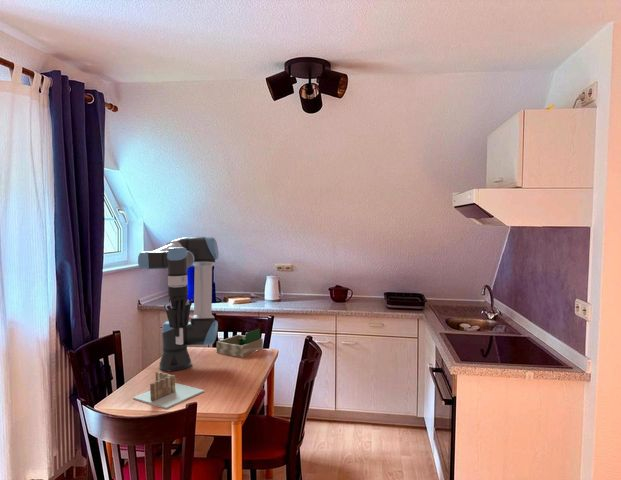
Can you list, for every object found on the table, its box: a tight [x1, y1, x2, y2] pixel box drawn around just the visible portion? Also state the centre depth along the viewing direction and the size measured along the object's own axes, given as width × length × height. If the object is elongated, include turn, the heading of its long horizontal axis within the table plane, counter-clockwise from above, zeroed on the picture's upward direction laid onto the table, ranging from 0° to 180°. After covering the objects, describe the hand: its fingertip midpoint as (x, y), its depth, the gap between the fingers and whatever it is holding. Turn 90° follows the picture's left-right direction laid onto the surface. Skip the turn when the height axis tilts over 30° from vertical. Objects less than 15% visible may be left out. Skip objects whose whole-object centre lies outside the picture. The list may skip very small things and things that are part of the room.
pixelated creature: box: [239, 328, 261, 346], centre depth 245 cm, size 12×12×12 cm
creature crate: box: [216, 334, 264, 358], centre depth 244 cm, size 18×18×6 cm
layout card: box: [132, 382, 205, 410], centre depth 182 cm, size 20×20×1 cm
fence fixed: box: [154, 371, 176, 393], centre depth 186 cm, size 11×2×8 cm, turn 58°
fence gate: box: [149, 377, 171, 401], centre depth 178 cm, size 10×2×7 cm, turn 150°
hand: (179, 343), depth 178 cm, fingers closed
